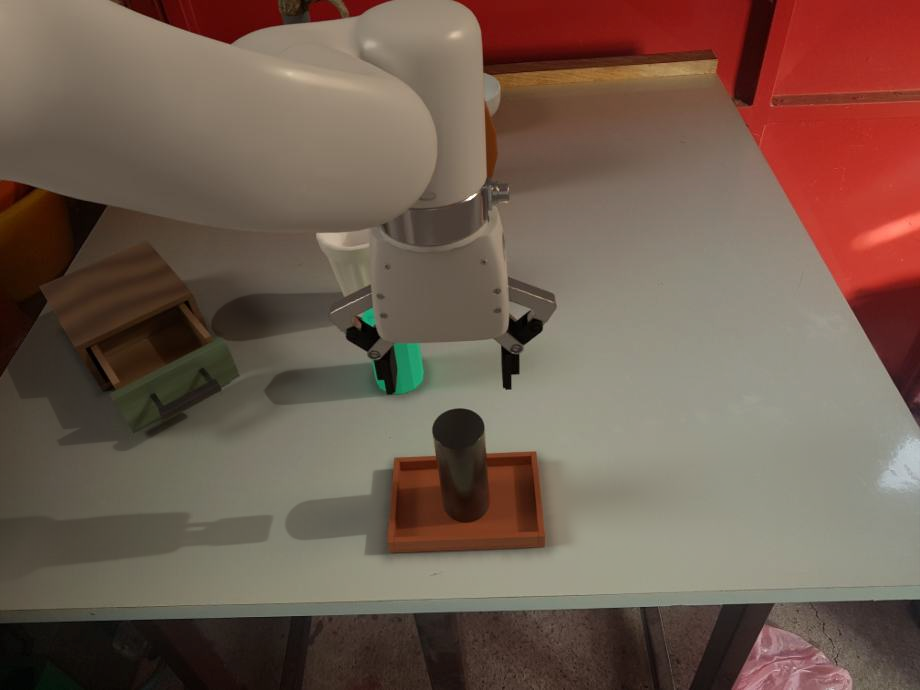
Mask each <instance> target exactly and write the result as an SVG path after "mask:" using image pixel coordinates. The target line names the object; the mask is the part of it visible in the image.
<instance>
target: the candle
mask: <svg viewBox="0 0 920 690" xmlns="http://www.w3.org/2000/svg"><path fill="white" fill-rule="evenodd" d="M361 320H363V321H364V322H366V323H367V324H369V325H371V326H372V327H373V326H374V325H375V318H374V311H373V308H371V309H369V310H367V311H365V312H364V313H363V315H362V317H361ZM394 350H395V356H396V362H397V382H396V392H395V393H393V394H392V395H404V394H406V393H410V392H412V391H414V390H416V389H417V388H418V387H419V386H420V385H421V384H422V383H423V381H424V374H425V369H424V362H423V357H422V349H421V343H395V344H394ZM370 361H371V365H372V370H373V375H374V378H375V382H376V383H377V386H378V388H379V389H380V390H382V391H384V392H386V389H385V383H384V380H377V375H376V370H375V365H374V360H371V359H370Z"/></svg>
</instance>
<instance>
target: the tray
mask: <svg viewBox="0 0 920 690" xmlns="http://www.w3.org/2000/svg"><path fill="white" fill-rule="evenodd" d="M486 453H487V452H486ZM487 468H488V482H489V497H490V505H489V508H488V510H487V512H486V513H485V515H484V516H482V517H481V518H480V519H478V520H476V521H473V522H467V523H464V522H458V521H455V520H454V519H452V518H450V517H449V516H448V515H447V513H446V512H445V510H444V506H443V500H442V494H441V487H440V480H439V474H438V467H437V460H436V455H424V456H423V455H422V456H421V455H420V456H401V457H393V468H392V481H391V493H390V504H389V516H388V517H389V518H388V531H387V541H386V542H387V546H388V550H389V553H390V554H393V553H416V552H417V553H418V552H444V551H445V552H446V551H469V550H470V551H471V550H495V549H520V548H545V547H546V529H545V521H544V512H543V511H544V510H543V503H542V501H543V500H542V492H541V483H540V473H539V464H538V453H537V450H535V451H534V450H533V451H510V452H490V453H489V452H488V453H487Z"/></svg>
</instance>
